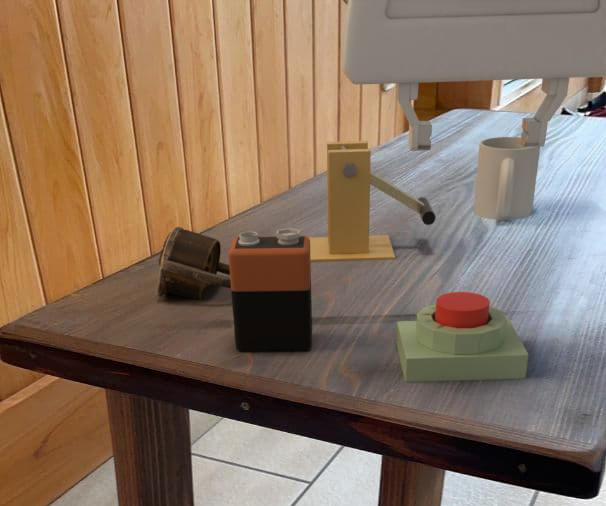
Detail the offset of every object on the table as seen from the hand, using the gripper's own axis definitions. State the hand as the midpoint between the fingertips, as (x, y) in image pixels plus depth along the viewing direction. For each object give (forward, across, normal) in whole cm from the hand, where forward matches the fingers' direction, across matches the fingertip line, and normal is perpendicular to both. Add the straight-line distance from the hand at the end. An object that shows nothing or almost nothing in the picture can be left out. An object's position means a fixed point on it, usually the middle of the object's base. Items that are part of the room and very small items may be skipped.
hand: (475, 147), depth 64 cm
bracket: (+17, -8, +29) cm, 35 cm away
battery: (+17, -16, +5) cm, 24 cm away
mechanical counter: (+17, -22, +16) cm, 32 cm away
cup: (+17, +12, +41) cm, 46 cm away
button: (+14, 0, 0) cm, 14 cm away
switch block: (+17, 0, 0) cm, 17 cm away
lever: (+11, -5, +29) cm, 31 cm away
